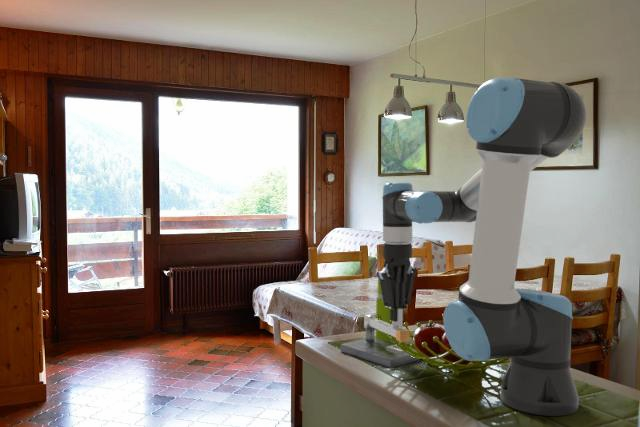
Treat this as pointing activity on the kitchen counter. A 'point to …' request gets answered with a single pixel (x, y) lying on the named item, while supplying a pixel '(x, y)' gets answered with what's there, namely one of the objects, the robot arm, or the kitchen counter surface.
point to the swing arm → (386, 328)
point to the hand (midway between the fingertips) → (396, 333)
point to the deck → (377, 351)
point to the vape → (382, 314)
